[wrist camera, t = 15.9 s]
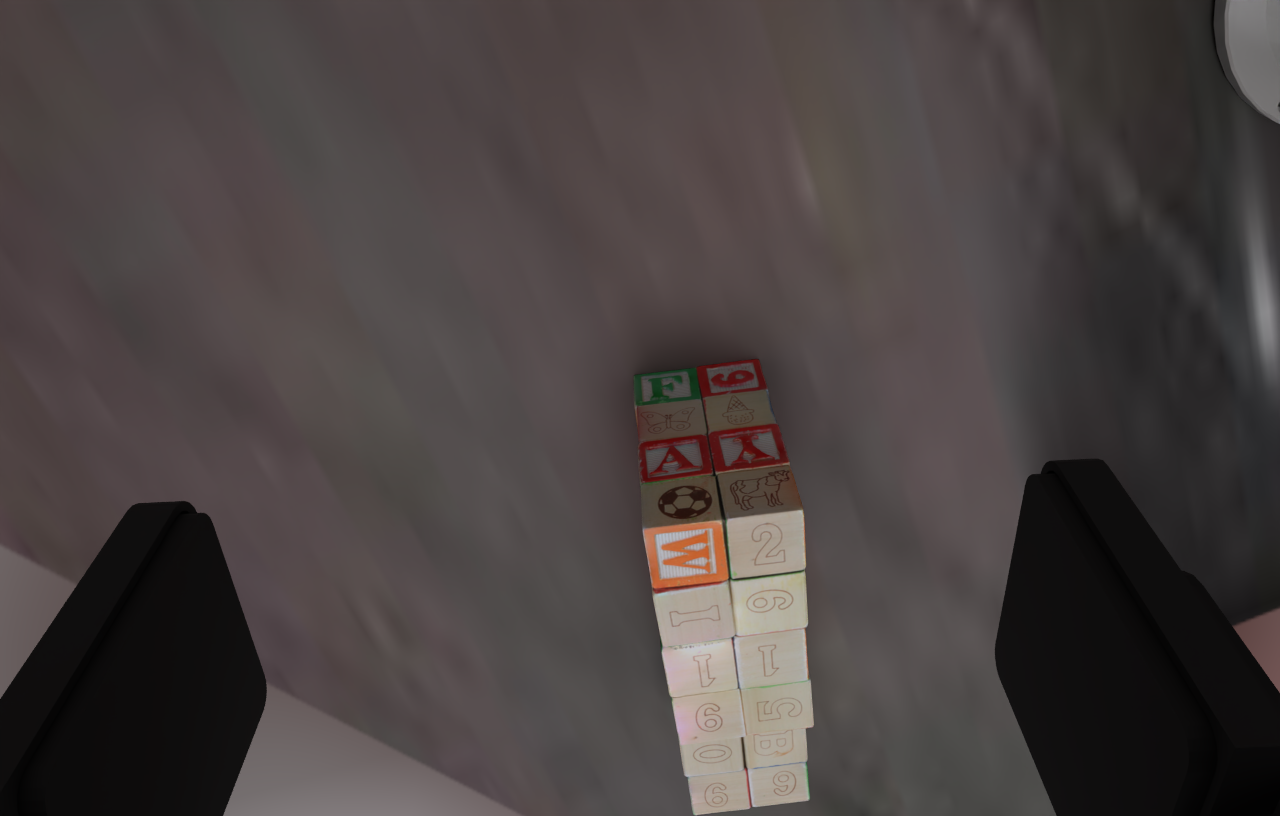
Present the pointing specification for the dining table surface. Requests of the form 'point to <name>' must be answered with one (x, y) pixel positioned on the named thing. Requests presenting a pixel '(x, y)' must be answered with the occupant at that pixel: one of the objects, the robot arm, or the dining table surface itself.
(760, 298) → the dining table surface
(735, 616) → the stack of blocks
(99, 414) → the dining table surface
